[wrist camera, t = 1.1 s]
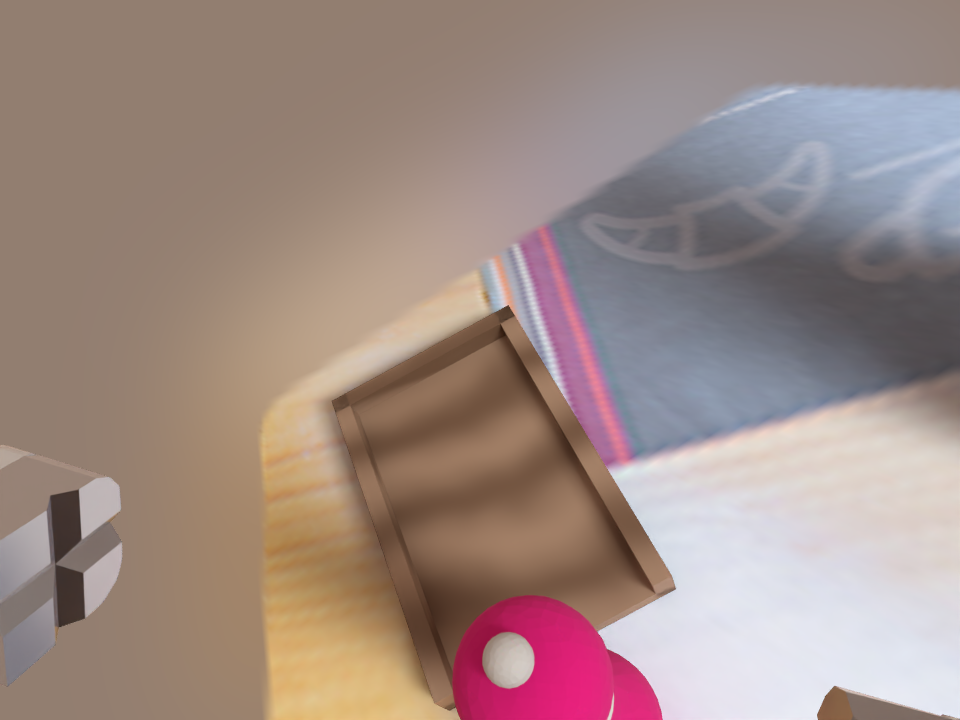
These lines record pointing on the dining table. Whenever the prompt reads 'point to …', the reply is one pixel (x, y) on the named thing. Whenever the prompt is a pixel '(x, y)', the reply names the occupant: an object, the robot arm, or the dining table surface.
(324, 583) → the dining table surface
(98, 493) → the robot arm
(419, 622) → the walnut tray
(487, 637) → the pepper mill
